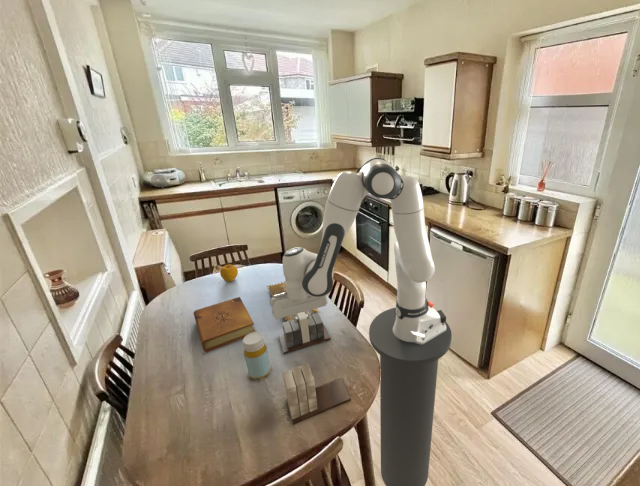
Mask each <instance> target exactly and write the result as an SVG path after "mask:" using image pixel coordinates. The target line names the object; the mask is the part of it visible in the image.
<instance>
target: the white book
mask: <svg viewBox="0 0 640 486" xmlns="http://www.w3.org/2000/svg"><path fill="white" fill-rule="evenodd" d="M306 314H307V313H306ZM306 314H305V312H301V313H298V314H296V315H297V316H298V318H299V322H298V325H299V327H300V331H301V339H302V342H303V343H306V342H309V341H310V336H309V328H308V319H307V316H306ZM296 315H295V316H296ZM297 316H296V317H297Z"/></svg>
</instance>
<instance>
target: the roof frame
mask: <svg viewBox="0 0 640 486" xmlns="http://www.w3.org/2000/svg"><path fill="white" fill-rule="evenodd" d="M267 289H268V292H269V295H270V296H271V298H272V297H274V295H279V294H282V293H286V287H285V280H283V281H280V283H279V282H278V283H274V284H269V285H267ZM307 312H308V311H305V314H307ZM315 313H318V314H319V313H320V310H319V308H316V309H312V313H311V314H310V315H311V316H312V314H315ZM295 317H297V315H296V314H295ZM283 319H284V322H287V321H289V322H290V321H291V320H294V319H293V318H292V317H291V315H290V316H287V317H283Z"/></svg>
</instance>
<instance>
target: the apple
mask: <svg viewBox="0 0 640 486" xmlns="http://www.w3.org/2000/svg"><path fill="white" fill-rule="evenodd" d="M238 271H239V270H238V267H236V265H234V264H230V263H229V264H225V265H224V266H222V267H220V271H219V274H220V275H219V276H220V277H221V278H222V280H223V281H225V282H227V283H231V282H233V281H234V280H236V278H237V277H238V273H239V272H238Z"/></svg>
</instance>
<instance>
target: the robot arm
mask: <svg viewBox="0 0 640 486" xmlns="http://www.w3.org/2000/svg"><path fill="white" fill-rule="evenodd" d="M367 195H371V196H372V197H374V198H377V199H385V200H390V205H391V214H392V223H393V229H394V235H395V238H396V240H395V242H394V244H393V252H394V265H395V272H396V273H395V274H396V282H397V283H396V285H397V288H396V290H397V291H396V293H397V294H396V296H397V297H396V300H395V308H396V320H395V323H394V326H393V333H394V335H395V336H396V337H397V338H399V339H400V340H403V341H406V342H414V343H417V344H420V345H423V344H424V343H426V342H428V341H429V340H431V339H433V338H434V337H436V336H438V335H439V334H441V333H443V332H444V331H446V325H445V323H444V322H447V316H446V315H445V313H444V312H443V311H442V309H438V310H436V309H435V308H434V306H435V304H434V303H433V302H432V301H431V300H430V301H429V300H428V299H427V298H426V293H427V283H426V282H428V281H430V279H432V278H433V276H434V274H435V271H436V266H435V263H434V259H433V255H432V250H431V245H430V241H429V236H428V233H427V228H426V217H425V207H424V199H423V193H422V189H421V186H420V183H419V180H418V179H417V178H415V177H414V176H410V175H403V176H400V174H399V173H398V172H397V170H396V169H395V168H394V166H393V164H391V163H390V162H389V161H387V160H386V159H384V158H381V157H372V158H371V159H368V161H366V162H365V163H364V164H362V165H361V166H360V167H359V168H358V169H357V170H356V172H355V171H353V170H344V171H342V172H340V173H338V174H337V176H336V179H335V180H334V182H333V184H332V186H331V188H330V190H329V193H328V196H327V199H326V202H325V206H324V211H323V219H322V235H321V241H320V246H319V249H318V251H317V253H315V252H312V251H309V250H307V249H306V248H304V247H301V246H298V247H297V246H296V247H292V248H290V249H288V250H286V251H285V253H284V254H283V256H282V273H283V277H284V278H285V280H284V281H285V287H286V289H285V290H286V293H284V292H282V294H280V293H279V295H274V297H272V296H271V298H270V299H269V303H270V304H269V305H270V307H272V308H271V309H272V310H271V311H272V316H273V318H274V319H275V320H279V319H284V317H288V316H290V315H291V316H290V317H292V318H293V320H294V321H295V323H298V322H299V318H298V316H296V315H295V314H298V313H301V312H305V311H307V312H306V316H307V319H310V314H312V313H313V312H312V309H316V308H318V309H320V308H323V307H326V306H327V305H328V297H327V295H329V294H330V293H331V292H332V290H333V288H334V273H335V264H336V262H337V258H338V255H339V252H340V250H341V246H342V244H343V242H344V241H345V238H346V237H347V235H348V233H349V231H350V229H351V227H352V226H353V224H354V222H355V220H356V217H357V215H358V213H359V210H360V208H361V205H362V202H363V200H364V198H365V197H366V196H367ZM316 310H317V309H316ZM295 316H296V317H295Z"/></svg>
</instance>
